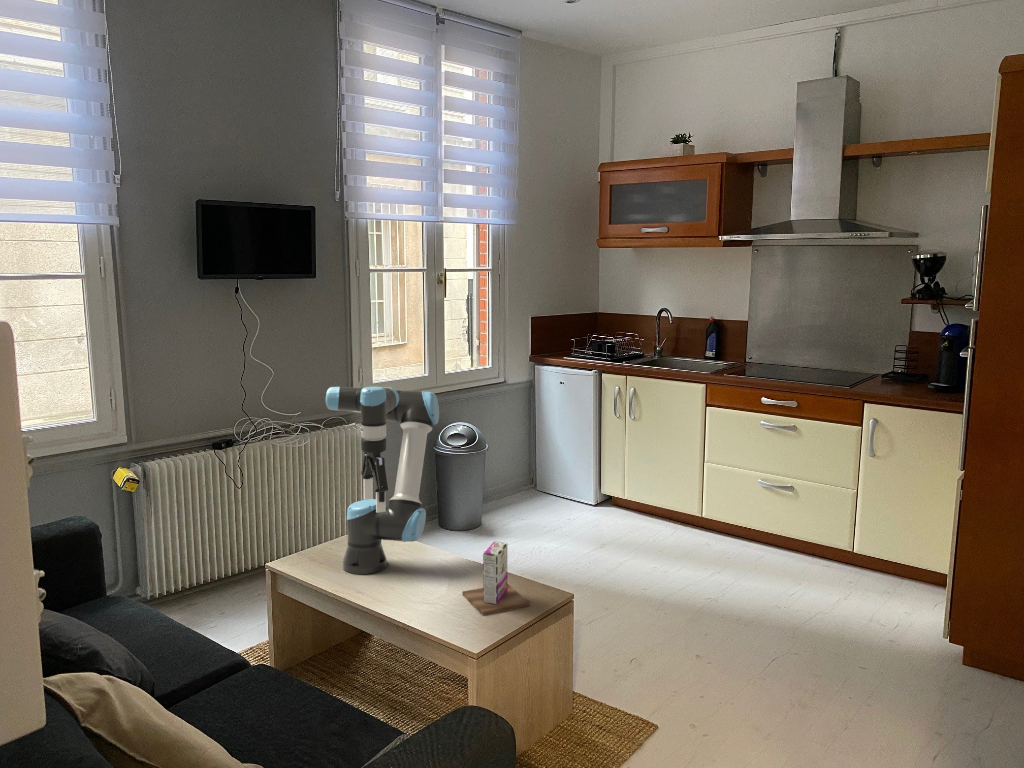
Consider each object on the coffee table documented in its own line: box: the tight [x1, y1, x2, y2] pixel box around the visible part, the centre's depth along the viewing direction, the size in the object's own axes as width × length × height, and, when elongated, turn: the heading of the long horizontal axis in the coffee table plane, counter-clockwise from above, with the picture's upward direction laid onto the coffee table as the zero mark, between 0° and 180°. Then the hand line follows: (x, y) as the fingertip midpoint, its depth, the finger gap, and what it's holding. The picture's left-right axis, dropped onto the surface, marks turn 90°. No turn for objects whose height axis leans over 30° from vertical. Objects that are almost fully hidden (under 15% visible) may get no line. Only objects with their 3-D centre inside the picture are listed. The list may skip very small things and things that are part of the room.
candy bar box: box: [482, 541, 509, 604], centre depth 248 cm, size 11×5×16 cm, turn 163°
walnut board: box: [462, 583, 530, 616], centre depth 250 cm, size 16×16×1 cm
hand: (374, 505), depth 242 cm, fingers open, 13 cm apart
